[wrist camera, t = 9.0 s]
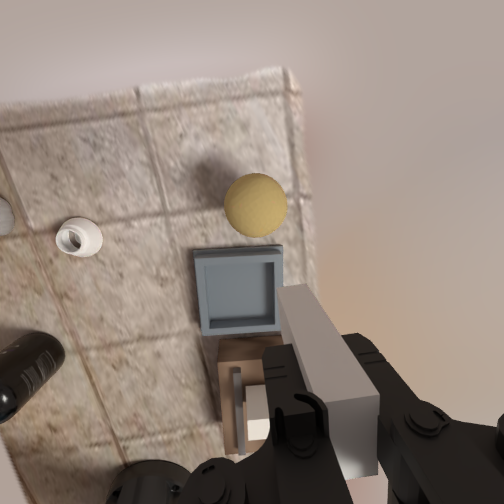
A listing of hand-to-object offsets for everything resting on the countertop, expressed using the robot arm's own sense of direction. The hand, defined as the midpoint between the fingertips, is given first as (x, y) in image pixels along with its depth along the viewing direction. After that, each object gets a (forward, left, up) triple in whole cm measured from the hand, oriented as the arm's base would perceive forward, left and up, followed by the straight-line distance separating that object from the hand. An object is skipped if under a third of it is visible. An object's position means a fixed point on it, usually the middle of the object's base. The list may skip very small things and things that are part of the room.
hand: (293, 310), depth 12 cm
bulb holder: (-3, -8, -21) cm, 23 cm away
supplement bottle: (-32, -16, -22) cm, 42 cm away
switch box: (-1, -24, -21) cm, 32 cm away
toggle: (-1, -21, -16) cm, 27 cm away
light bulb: (-1, +4, -22) cm, 22 cm away
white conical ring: (-22, +1, -22) cm, 31 cm away
